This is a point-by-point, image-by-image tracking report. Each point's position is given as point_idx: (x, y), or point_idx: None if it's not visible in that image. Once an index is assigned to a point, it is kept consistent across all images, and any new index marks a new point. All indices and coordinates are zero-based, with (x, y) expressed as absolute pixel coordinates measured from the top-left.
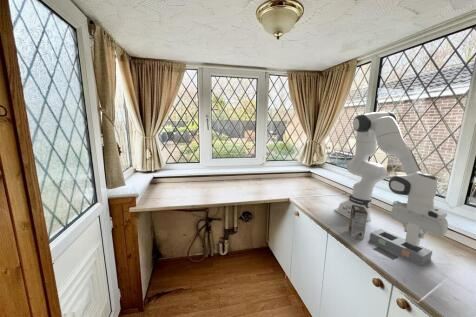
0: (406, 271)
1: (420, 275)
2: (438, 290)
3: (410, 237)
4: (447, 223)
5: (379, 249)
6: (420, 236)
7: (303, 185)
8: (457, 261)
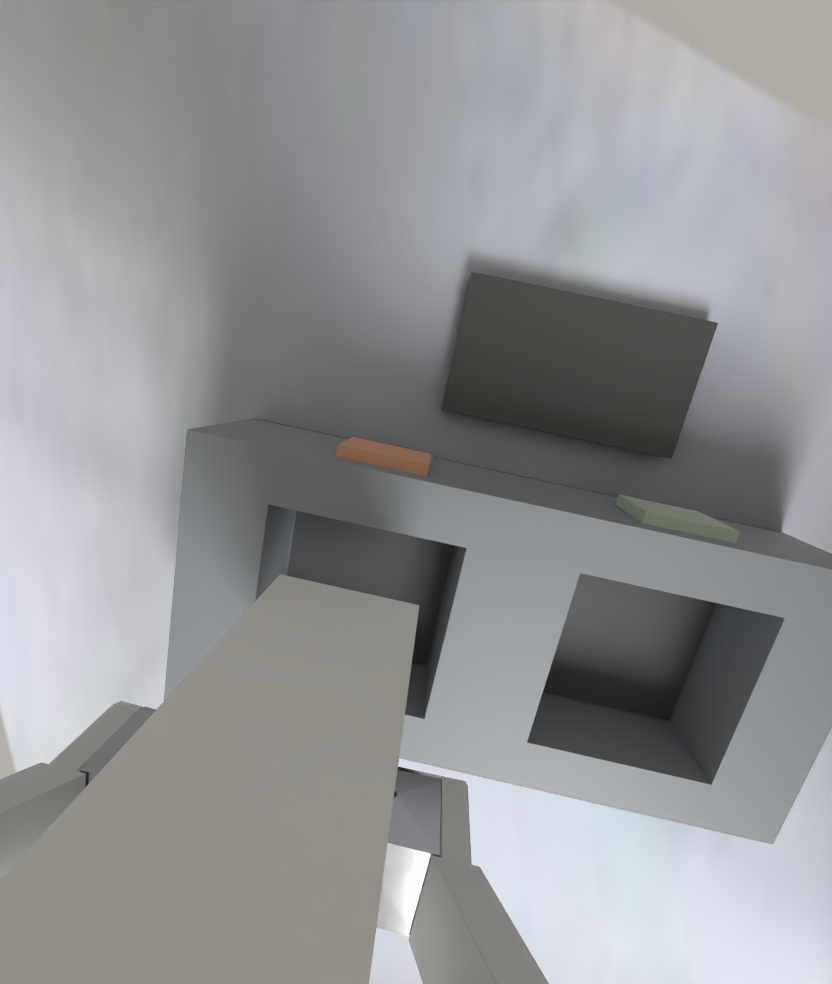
0: (323, 173)
1: (216, 231)
2: (48, 85)
3: (333, 656)
4: None
5: (647, 392)
6: (131, 731)
7: None
8: None
